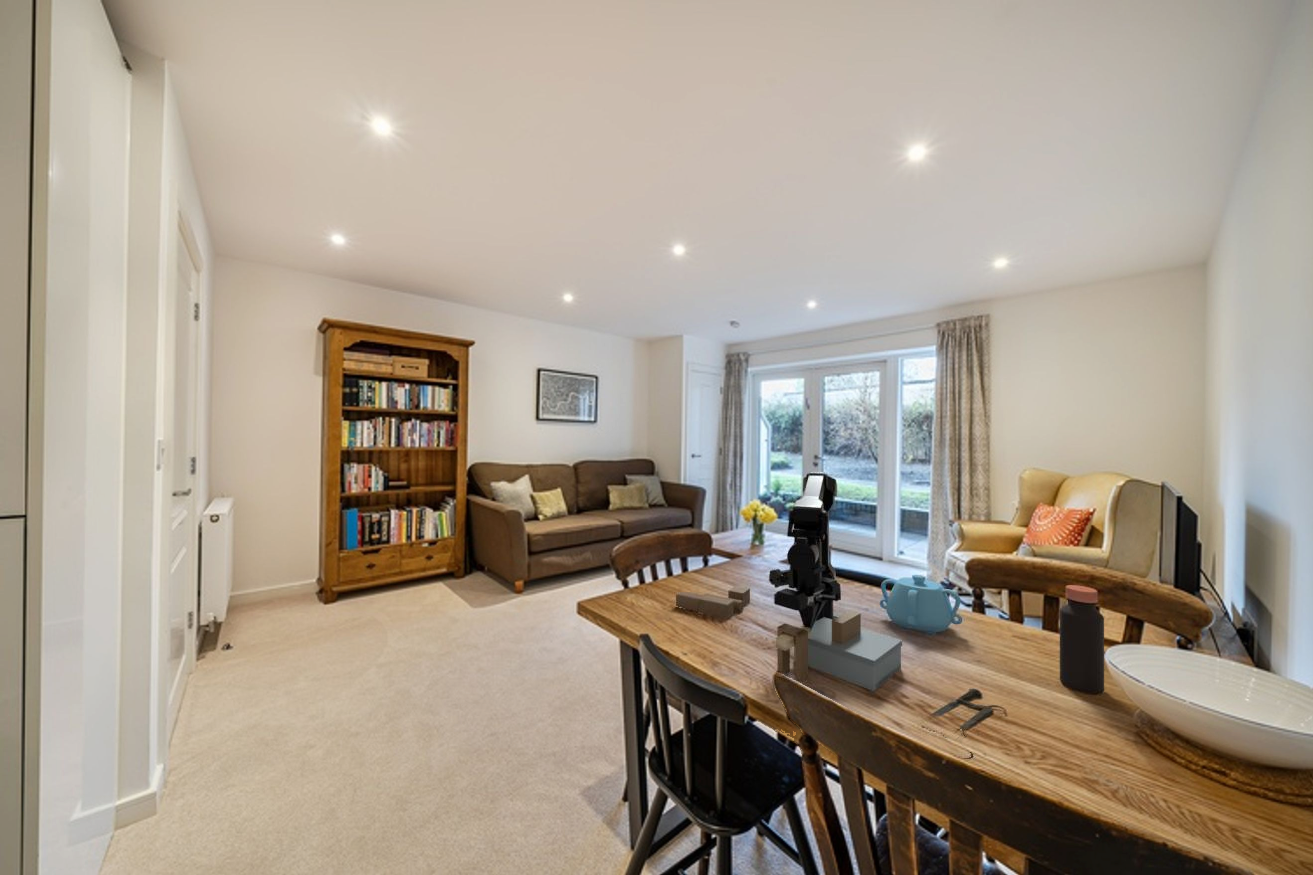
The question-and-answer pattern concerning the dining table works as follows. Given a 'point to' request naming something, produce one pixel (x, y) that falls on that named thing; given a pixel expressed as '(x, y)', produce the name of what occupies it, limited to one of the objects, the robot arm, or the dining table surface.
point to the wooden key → (789, 639)
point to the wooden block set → (715, 602)
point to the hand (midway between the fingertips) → (808, 630)
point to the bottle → (1082, 641)
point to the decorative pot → (920, 604)
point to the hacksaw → (964, 700)
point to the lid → (852, 639)
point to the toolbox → (834, 662)
